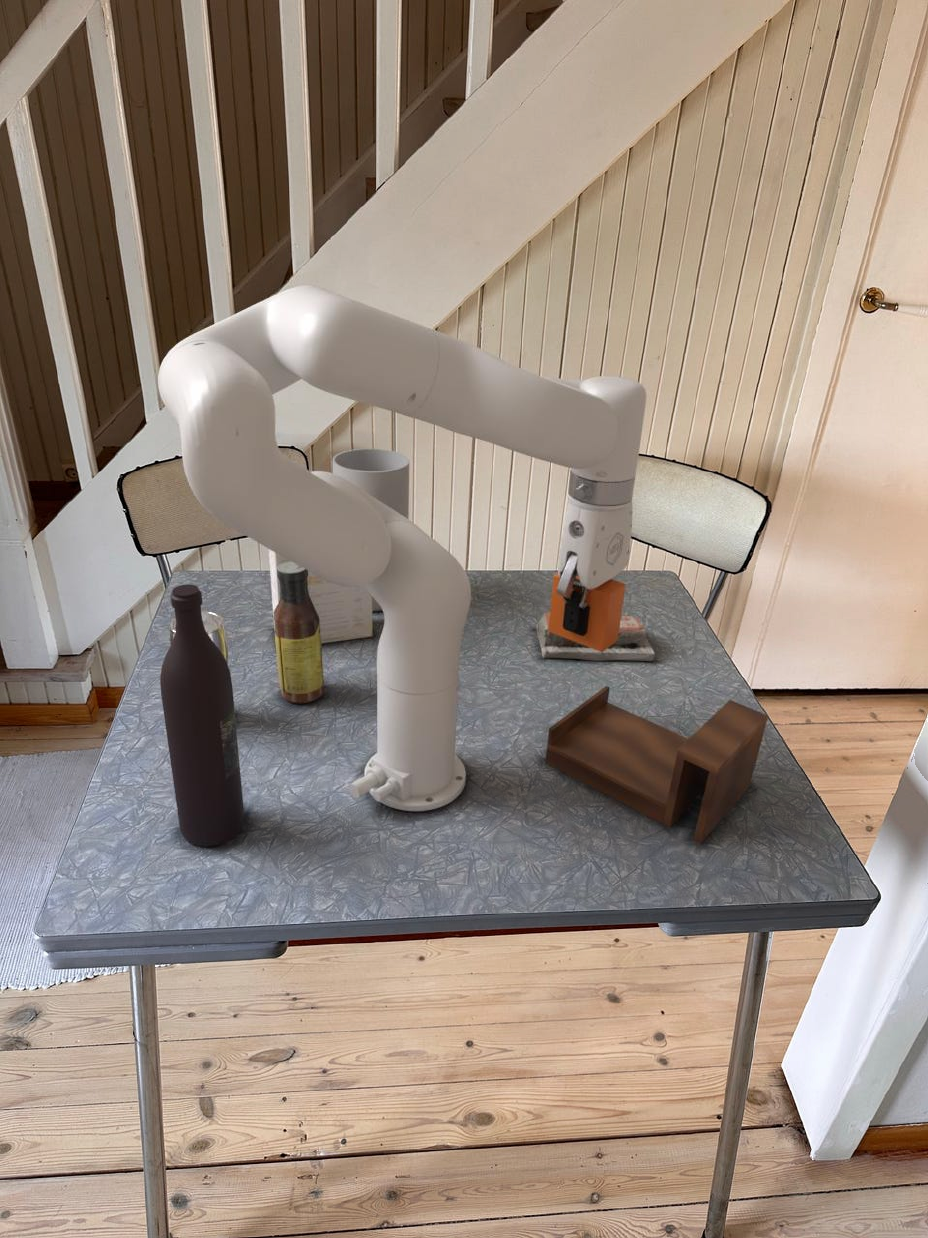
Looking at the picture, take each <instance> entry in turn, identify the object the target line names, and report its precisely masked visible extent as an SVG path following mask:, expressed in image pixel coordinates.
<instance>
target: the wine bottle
mask: <svg viewBox="0 0 928 1238" xmlns="http://www.w3.org/2000/svg"><path fill="white" fill-rule="evenodd" d="M169 596H170V601H171V602H170V603H171V607H172V608H173V610H174V618H176V632H175V636H174V638H173V641H172V644H171V643H170V646H169V647H168V650H167V652H166V653H165V656H164V659H163V661H162V664H161V669H160V676H159V677H160V678H159V684H160V695H161V703H162V710H163V717H164V724H165V732H166V738H167V744H168V746H167V747H168V753H169V761H170V766H171V774H172V775H171V776H172V782H173V788H174V795H175V803H176V809H177V818H178V825H179V830H180V833H181V835H182V837H183V838H184V839H185V840H186V841H187V843H189V844H191V845H195V846H198V847H215V846H220V845H222V844H226V843H228V842H229V841H231V840H233V839H234V838H235V837H237V836H238V835H239V834H240V832H241V831H242V829H243V827H244V824H245V809H244V807H245V806H244V798H243V786H242V777H241V766H240V765H241V763H240V755H239V745H238V744H239V743H238V734H237V733H238V732H237V721H236V712H235V700H234V691H233V681H232V676H231V670H230V668H229V664H228V665H227V662H226V659H225V657H224V656H223V654H222V653H221V651H220V649H219V648H218V647H217V646H216V645H215V643H214V642H213V641H212V640H211V638H210V637H209V635H208V634H207V632H206V631H205V628H204V624H203V620H202V614H201V611H202V605H203V595H202V590H200V589H199V587H198V585H195V584H180V585H176V586H175V587H173V588H172V590H171V593H170V595H169Z"/></svg>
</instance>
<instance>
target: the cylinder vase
mask: <svg viewBox="0 0 928 1238" xmlns="http://www.w3.org/2000/svg"><path fill="white" fill-rule="evenodd" d="M332 473H333V474H336V475H338V476H340V477H342V478H344V479H345V480H347V481H349V482H350V483H352V484H353V485H355V486H357V487H358V488H360V489H361V490H363V491H364V492H366V493H368V494H369V495H371V496H372V497H374V498H376V499H377V500H379V501H380V502H382V503H383V504H385V505H387V506H388V507H390V508H391V509H393V510H395V511H396V512H398V513H399V514H401V515H403V516H404V517H406V518H407V519H409V509H410V507H409V506H410V458H409V457H407V456H406V455H405V454H403V453H400V452H397V451H394V450H389V449H381V448H356V449H350V450H349V449H348V450H345V451H341V452H339V453H336V454H335V455H333V457H332ZM380 611H383V610H382V608H381V606H380V605H379V604H378V603H377V602H376V600H375V599H374V598H373V596H372V612H380Z"/></svg>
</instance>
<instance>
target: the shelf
mask: <svg viewBox="0 0 928 1238" xmlns="http://www.w3.org/2000/svg"><path fill="white" fill-rule="evenodd" d="M610 690H611V687H610V686H608V685H605V686H604V687H602V689H600V690H599V691H597V692H596V693H595V694H593V695H592V696H590V697H589V698H588V699H587V700H585V701H583V702H582V703H581V704H580V705H579V706H577V707H576V708H574V709H573V710H572V711H570V712H569V713H567V714H566V715H565V716H563V717H562V718H561V719H559V720H558V721H557V722H556V723H554V724H553V725H551V726H550V727H548V734H547V735H548V736H547V744H546V750H545V751H546V753H545V761H544V764H546V765H549V766H550V767H552V768H554V769H556V770H557V771H560V772H562V773H564V774H565V775H568V776H569V777H572V778H573V779H575V780H577V781H578V782H579V781H580V783H583V784H584V785H587V786H589V787H591V788H593V789H594V790H596V791H598V792H600V793H602V794H605V795H606V796H608V797H609V798H612V799H614V800H616V801H618V802H620V803H621V804H624V805H625V806H627V807H629V808H631V809H633V810H635V811H637V812H639V813H641V814H642V815H645V816H647V817H649V818H650V819H652V820H654V821H656V822H658V823H659V824H662V825H664V826H666V827H668V828H671V827H672V826H673V825H674V824H675V823H676V822H677V820H679V818H680V817H681V816H682V815H683V814H684V813H685V812H686V811H687V810H688V808H690V807H691V805H692V804H694V802H695V801H696V800H697V799H698V798H699V797H700V796H701V795H702V794H703V797H702V802H701V806H700V810H699V814H698V817H697V822H696V827H695V831H694V834H693V835H694V836H693V841H695V842H697V843H699V844H702V843H703V842H704V841H705V840H706V838H707V837H708V836H709V835H710V834H711V833H712V832H713V830H714V829H715V828H716V827H717V826H718V824H719V823H721V821H722V820H723V819H724V817H725V816H726V815H727V814H728V813H729V812H730V811H731V809H732V808H733V807H734V806H735V805H736V804H737V802H738V801H739V800H740V799H741V798H742V797H743V795H744V794H745V793H746V792H747V790H748V789H749V788H750V787H751V783H752V779H753V776H754V773H755V772H754V771H755V767H756V764H757V760H758V757H759V754H760V753H759V752H760V749H761V745H762V741H763V738H764V733H765V730H766V726H767V722H768V719H769V715H768V714H765V713H763V712H761V711H759V710H756V709H753V708H751V707H749V706H746V705H744V704H741V703H739V702H737V701H734V700H733V699H732V700H731V699H729V700H728V701H727V702H726V703H725V704H723V706H721V707H720V709H718V710H717V711H716V712H715V713H714V714H713V715H712V716H711V717H710V718H709V719H708V720H707V721H706V722H705V723H704V724H703V725H702V726H700V728H699V729H697V730H696V731H695V732H694V733H693V734H692V735H691V736H690V737H689V738H688V737H686V736H684V735H681V734H679V733H677V732H675V731H672V730H671V729H668V728H666V727H664V726H661V725H659V724H657V723H654V722H653V721H650V720H648V719H646V718H644V717H641V716H640V715H637V714H635V713H633V712H630V711H628V710H626V709H624V708H621V707H619V706H618V705H614V704H612V703H611V702H609V696H610Z"/></svg>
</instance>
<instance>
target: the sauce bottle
mask: <svg viewBox="0 0 928 1238" xmlns="http://www.w3.org/2000/svg"><path fill="white" fill-rule="evenodd" d="M277 577H278V579H279V582H280V600H279V603H278V605H277V606H276V609H275V610H274V618H273V625H274V624H275V630H274V642H275V650H276V651H275V652H276V662H277V672H278V673H277V674H278V684H279V688H280V690H279V691H280V693H281V696H282V697H283V699H284V700H285V701H287V702H290V703H292V704H308V703H311V702H313V701H315V700H318V699H320V697H322V695H323V693H324V682H325V679H324V666H323V664H324V663H323V652H322V651H323V650H322V643H321V635H320V620H319V616H318V614H317V612H316V609H315V607H314V605H313V603H312V600H311V598H310V596H309V591H308V582H307V577H308V570H306V569H305V568H303V567H301V566H299V565H298V564H296V563H294V562H285V563H282V564H280V565H279V566H278V567H277Z"/></svg>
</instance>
